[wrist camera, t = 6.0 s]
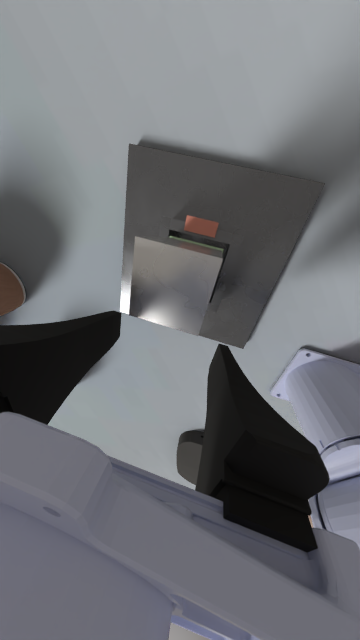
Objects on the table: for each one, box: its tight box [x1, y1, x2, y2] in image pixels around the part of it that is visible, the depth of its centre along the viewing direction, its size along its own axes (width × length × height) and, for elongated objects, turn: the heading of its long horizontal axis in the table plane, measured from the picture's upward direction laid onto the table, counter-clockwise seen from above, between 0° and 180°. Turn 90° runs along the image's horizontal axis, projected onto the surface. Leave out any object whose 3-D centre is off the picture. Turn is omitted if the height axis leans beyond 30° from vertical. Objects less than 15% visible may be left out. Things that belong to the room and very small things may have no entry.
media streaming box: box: [177, 431, 204, 485], centre depth 32 cm, size 15×15×3 cm
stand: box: [120, 144, 325, 349], centre depth 16 cm, size 16×16×5 cm
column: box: [129, 236, 224, 336], centre depth 11 cm, size 4×4×7 cm
